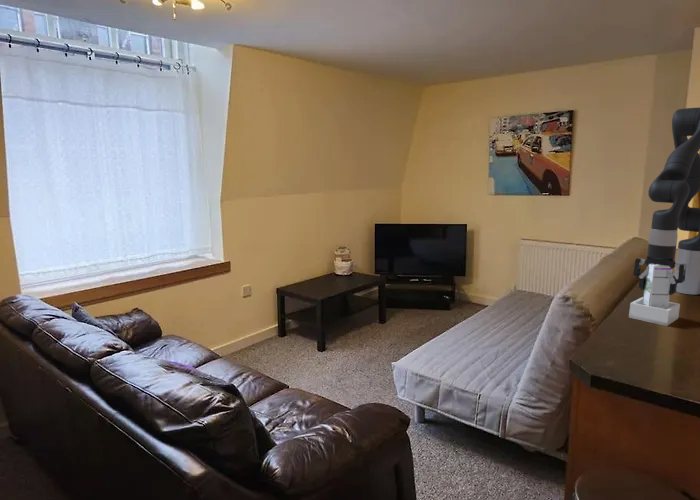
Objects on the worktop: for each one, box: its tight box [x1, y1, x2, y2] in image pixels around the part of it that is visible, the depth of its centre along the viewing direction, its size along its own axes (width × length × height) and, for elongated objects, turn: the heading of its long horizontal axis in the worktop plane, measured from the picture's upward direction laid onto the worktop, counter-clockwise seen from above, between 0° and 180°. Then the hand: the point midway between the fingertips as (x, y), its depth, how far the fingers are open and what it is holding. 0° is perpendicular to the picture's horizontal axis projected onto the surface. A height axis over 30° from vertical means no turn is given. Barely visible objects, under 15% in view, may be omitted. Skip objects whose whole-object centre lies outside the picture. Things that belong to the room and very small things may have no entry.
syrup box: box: [642, 264, 673, 309], centre depth 153 cm, size 6×6×14 cm
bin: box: [628, 296, 681, 327], centre depth 154 cm, size 11×11×5 cm
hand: (656, 292), depth 153 cm, fingers closed on syrup box, 7 cm apart
